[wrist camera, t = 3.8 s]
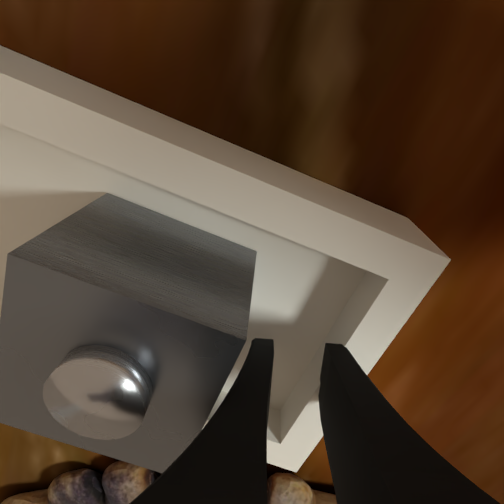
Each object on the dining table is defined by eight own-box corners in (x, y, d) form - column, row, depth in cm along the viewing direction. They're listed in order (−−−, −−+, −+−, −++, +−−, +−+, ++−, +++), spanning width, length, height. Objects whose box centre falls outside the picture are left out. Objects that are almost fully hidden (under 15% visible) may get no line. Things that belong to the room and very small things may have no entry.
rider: (256, 251, 11) (244, 360, 7) (207, 360, 14) (171, 502, 9) (107, 192, 11) (-16, 268, 6) (79, 315, 13) (-30, 440, 8)
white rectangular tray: (407, 217, 13) (450, 259, 10) (268, 439, 18) (266, 513, 15) (-241, -57, 11) (-463, -120, 7) (-185, 288, 16) (-300, 338, 13)
